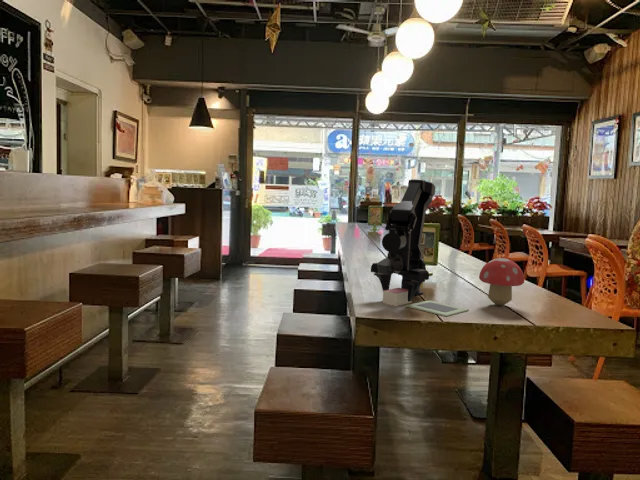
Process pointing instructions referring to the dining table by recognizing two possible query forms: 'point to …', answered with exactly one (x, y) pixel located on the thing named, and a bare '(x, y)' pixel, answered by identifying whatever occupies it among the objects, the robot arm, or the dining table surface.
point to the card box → (396, 296)
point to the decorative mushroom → (501, 279)
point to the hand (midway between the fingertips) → (397, 298)
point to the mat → (437, 308)
